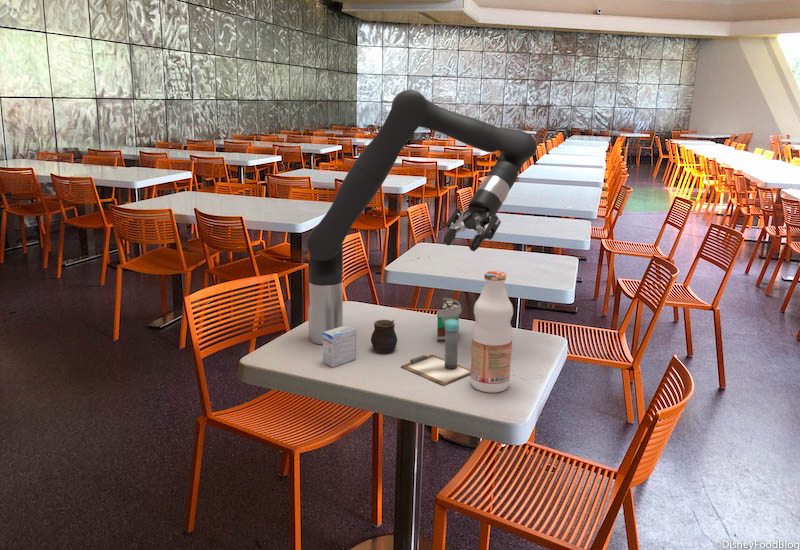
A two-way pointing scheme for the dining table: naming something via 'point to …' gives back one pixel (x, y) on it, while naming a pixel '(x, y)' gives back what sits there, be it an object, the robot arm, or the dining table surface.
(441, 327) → the food container
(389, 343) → the mate gourd
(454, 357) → the ball
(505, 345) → the fruit juice
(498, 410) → the dining table surface
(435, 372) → the clipboard
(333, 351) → the medicine box
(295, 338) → the dining table surface
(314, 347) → the dining table surface
